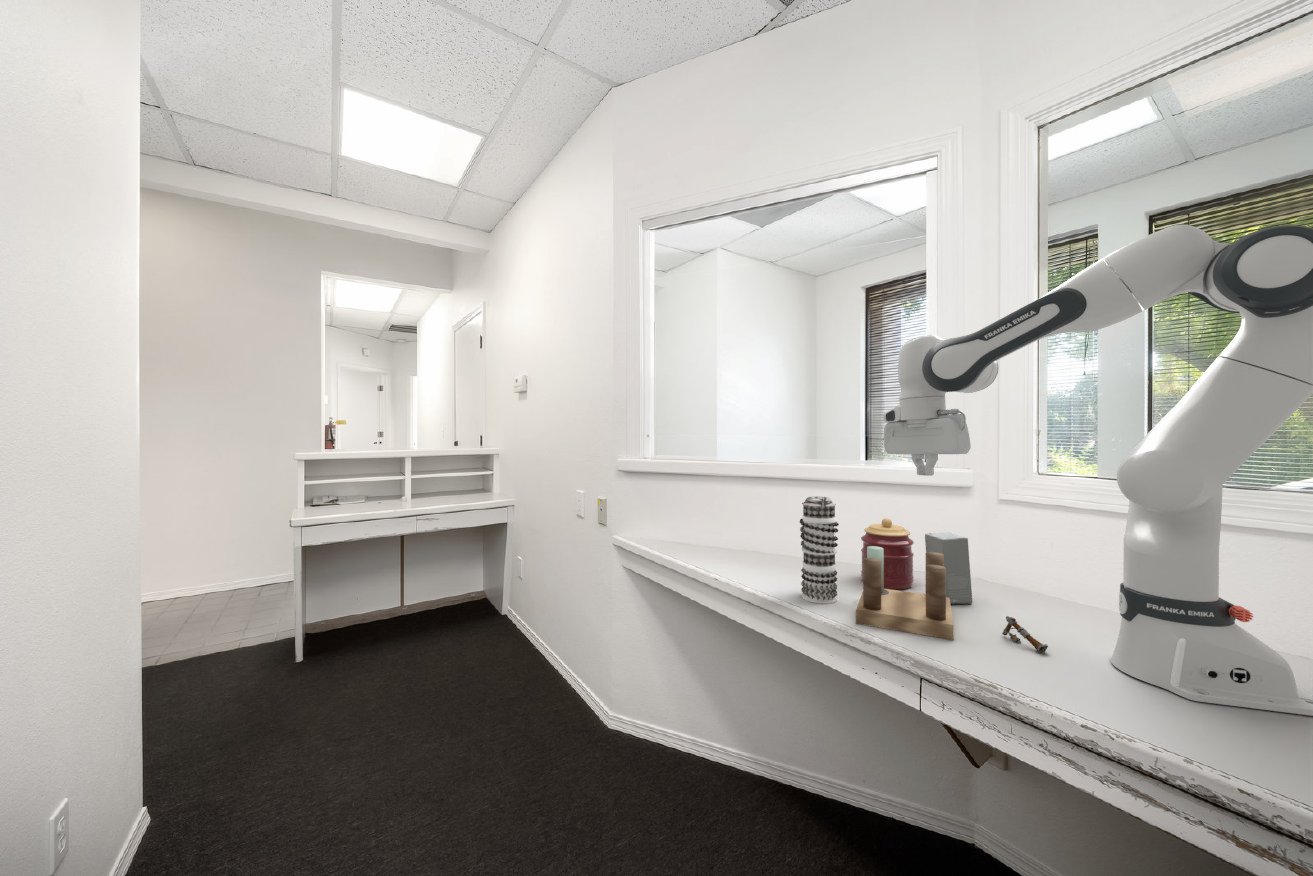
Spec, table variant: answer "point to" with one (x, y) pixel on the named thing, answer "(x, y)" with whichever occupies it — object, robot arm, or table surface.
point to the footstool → (907, 602)
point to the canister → (891, 553)
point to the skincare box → (953, 564)
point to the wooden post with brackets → (1024, 633)
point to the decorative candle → (819, 550)
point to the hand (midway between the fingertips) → (925, 475)
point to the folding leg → (878, 554)
